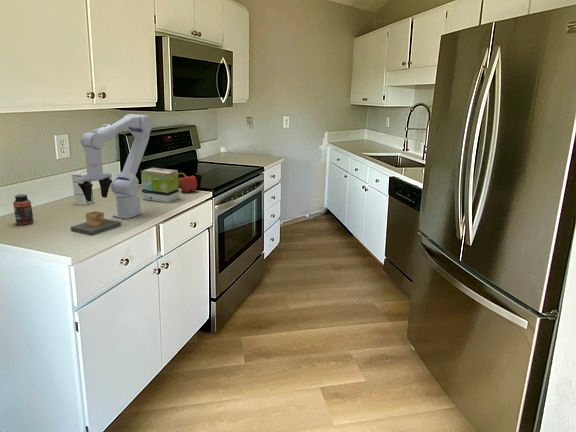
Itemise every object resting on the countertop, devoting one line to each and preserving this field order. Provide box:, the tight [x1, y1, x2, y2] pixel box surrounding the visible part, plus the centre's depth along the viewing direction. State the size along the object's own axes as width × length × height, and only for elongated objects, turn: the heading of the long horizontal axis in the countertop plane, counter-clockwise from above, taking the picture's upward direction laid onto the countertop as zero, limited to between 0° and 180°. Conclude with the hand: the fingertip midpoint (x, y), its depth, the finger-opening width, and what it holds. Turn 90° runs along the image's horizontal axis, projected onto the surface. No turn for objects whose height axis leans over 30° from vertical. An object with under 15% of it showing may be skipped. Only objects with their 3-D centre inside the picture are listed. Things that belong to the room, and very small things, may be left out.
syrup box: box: [71, 171, 94, 206], centre depth 196 cm, size 6×6×14 cm
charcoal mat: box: [70, 218, 122, 236], centre depth 164 cm, size 14×11×2 cm
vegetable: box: [178, 172, 198, 193], centre depth 227 cm, size 11×10×10 cm
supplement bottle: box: [12, 193, 34, 226], centre depth 166 cm, size 6×6×11 cm
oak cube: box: [85, 210, 106, 227], centre depth 164 cm, size 4×4×4 cm
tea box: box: [140, 167, 180, 204], centre depth 209 cm, size 15×10×15 cm
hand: (96, 199), depth 166 cm, fingers open, 7 cm apart
